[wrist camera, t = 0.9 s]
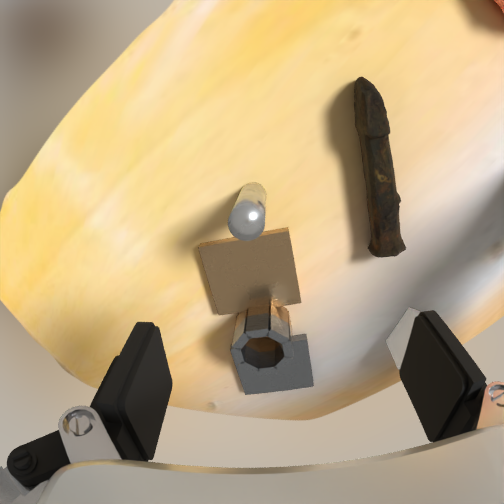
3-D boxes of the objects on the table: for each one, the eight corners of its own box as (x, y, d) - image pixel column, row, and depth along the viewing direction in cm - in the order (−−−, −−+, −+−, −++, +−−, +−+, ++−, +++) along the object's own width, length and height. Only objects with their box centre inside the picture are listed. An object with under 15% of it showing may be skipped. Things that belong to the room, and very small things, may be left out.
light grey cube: (438, 318, 39) (455, 343, 33) (415, 350, 41) (429, 377, 35) (408, 306, 38) (425, 333, 32) (385, 340, 40) (397, 369, 35)
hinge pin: (263, 180, 33) (260, 202, 24) (268, 205, 34) (267, 237, 25) (237, 185, 33) (224, 210, 24) (243, 210, 34) (232, 243, 25)
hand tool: (396, 242, 35) (411, 258, 31) (365, 248, 35) (377, 264, 31) (379, 78, 28) (395, 72, 24) (344, 80, 28) (355, 74, 24)
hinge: (288, 227, 35) (291, 247, 29) (312, 380, 43) (316, 411, 38) (200, 243, 36) (187, 266, 30) (246, 389, 45) (243, 419, 39)
